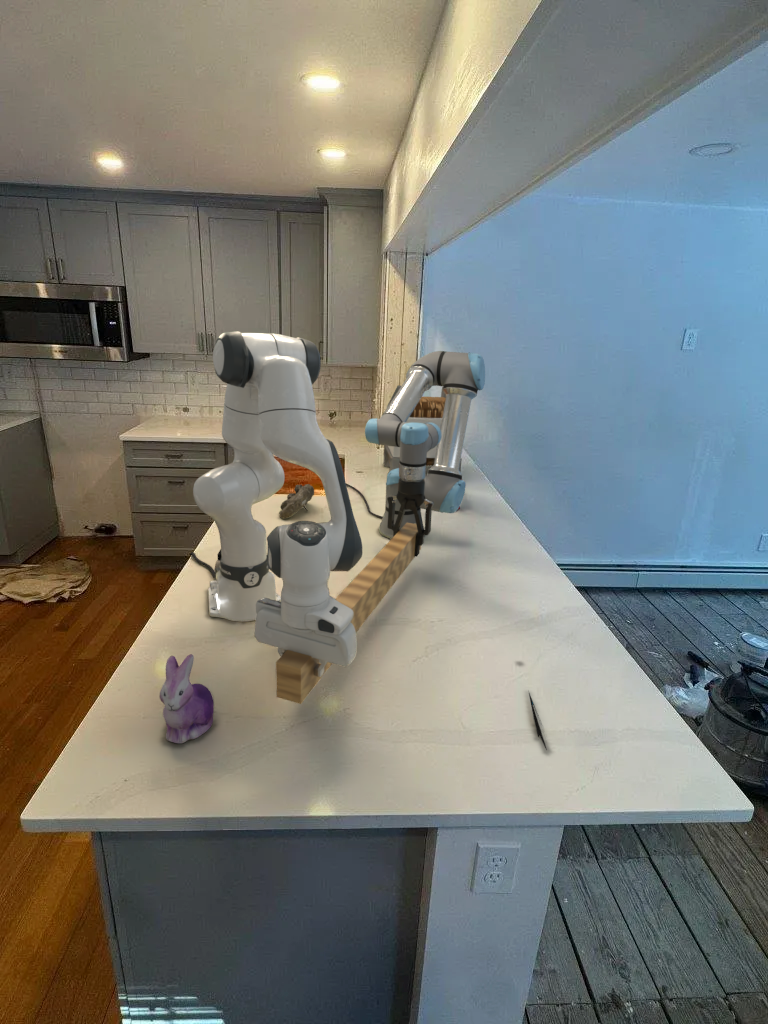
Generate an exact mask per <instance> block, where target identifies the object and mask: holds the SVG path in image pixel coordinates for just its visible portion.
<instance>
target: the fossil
mask: <svg viewBox="0 0 768 1024" xmlns="http://www.w3.org/2000/svg"><path fill="white" fill-rule="evenodd" d="M293 490H294V492H292V493H288V494H287V496H286V499H285V500H284V501H283V502H281V504H280V511H279V512H278V514H279V518H280V519H289V518H291V517H293V516H295V515H296V514H297V513H298V512H299V511H300V510H302V509H303V508H304V510H305V511H306V512H308V511H309V510H308V509H307V507H306V505H307V503H308V502H310V501H311V500H312V498H313V496H315V488H314V487H313V485H311V484H309V483H307V484H304V485H303V484H296V485H295V487H294V489H293Z"/></svg>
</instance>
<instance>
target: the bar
mask: <svg viewBox="0 0 768 1024" xmlns="http://www.w3.org/2000/svg"><path fill="white" fill-rule="evenodd" d="M417 534H418V530H417V525H416V524H413V523H406V524H405V525H404V526H403V527H402V528H401V529H400V530H399V531H398V533H397V534H396V535H395V536H394V537H393V538H392V539H389V541H388V542H387V543H386V544H385V545H384V546H383V547H382V548H381V549H380V550H379V552H377V554H376V555H375V556H374V557H373V558H372V559H371V560H370V561H369V562H368V563H367V564H366V566H365V567H364V568H363V569H362V570H360V572H359V573H358V574H357V575H356V576H355V577H354V578H353V579H352V580H351V582H349V583H348V585H347V586H345V588H344V589H343V590H341V592H340V593H339V594H338V595H337V597H335V598H334V599H335V600H337V601H338V602H340V603H342V604H343V605H345V606H347V607H349V608H350V609H352V610H353V613H354V615H353V619H352V620H351V623H352V624H353V626H354V628H355V631H356V633H358V631H359V630H360V629H361V627H362V626H363V625H364V623H365V622H366V621H367V619H369V617H370V616H371V614H372V613H373V612H374V611H375V609H376V608H377V607H378V606H379V604H380V603H381V601H382V600H383V599H384V598H385V596H386V595H387V594H388V593H389V591H390V590H391V589H392V587H393V586H394V585H395V584H396V582H397V581H398V579H399V578H401V576H402V574H403V573H404V572H405V570H406V569H407V568H408V567H409V565H410V564H411V563H412V562H413V560H414V559H415V557H416V556H415V541H416V535H417ZM421 550H422V546H420V551H421ZM317 664H322V663H319V659H315V658H312V657H311V656H309V655H305V654H301V653H297V652H294V651H290V650H287V651H286V652H285V653H284V654H283V655H282V656H280V657H279V658H278V659H277V660H276V662H275V670H276V671H275V672H276V673H275V675H276V676H275V678H276V679H275V680H276V681H275V682H276V684H275V685H276V698H278V699H283V700H284V701H289V702H292V703H295V704H298V705H302V703H303V702H304V701H305V700H306V698H307V697H308V696H309V695H310V693H311V692H312V691H313V689H314V688H315V687H316V685H317V684H318V683H319V681H321V679H322V678H323V676H324V675H325V674H326V672H328V670H329V669H330V667H331V666H332V665H333V663H329V662H327V664H326V665H325V666H324V674H323V675H322V676H321V677H318V676H315V675H314V667H315V666H316V665H317Z"/></svg>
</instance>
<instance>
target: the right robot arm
mask: <svg viewBox="0 0 768 1024" xmlns="http://www.w3.org/2000/svg"><path fill="white" fill-rule="evenodd" d="M485 382H486V363H485V360H484V358H483V356H482V355H481V354H479V353H473V352H461V351H460V352H459V351H458V352H457V351H445V350H436V351H432V352H429V353H427V354H424V355H423V356H421V357H420V358H418V359H417V360H416V361H414V363H412V364H411V366H410V367H409V368H408V370H407V371H406V374H405V379H404V381H403V382H402V384H401V385H400V386H401V387H400V389H399V390H398V392H397V393H396V395H395V397H394V398H393V400H392V401H391V403H390V404H389V406H388V407H387V406H386V408H385V410H384V412H383V413H382V415H381V416H380V417H379V418H378V417H376V418H369V419H368V421H367V422H366V423H365V428H364V437H365V440H366V441H367V442H368V443H370V444H375V445H378V446H384V445H386V446H394V447H400V463H399V468H397V469H393V470H391V471H390V470H389V471H388V473H387V475H386V482H385V504H384V505H385V507H384V508H385V509H384V513H383V515H382V516H381V515H380V514H379V515H378V514H376V513H373V512H372V511H371V510H370V506H369V504H368V502H367V499H366V497H365V495H364V494H363V493H362V492H361V491H360V490H358V489H357V488H356V487H354V486H352V485H350V484H349V483H346V486H347V487H349V488H350V489H353V490H354V491H355V492H356V493H358V494H359V495H360V496H361V497H362V499H363V501H364V503H365V506H366V508H367V512H368V513H369V514H370V515H372V516H374V517H376V518H379V519H381V522H379V527H378V533H379V534H380V535H381V536H382V537H385V538H387V539H389V540H391V539H392V538H393V537H394V536H395V535H396V534H397V533H398V531H399V530H400V529H401V528H402V527H403V526H404V525H405V524H406V523H413V524H416V525H417V530H418V534H417V535H416V541H415V557H419V555H420V551H421V550H420V546H421V547H423V544H424V540H425V536H428V535H429V534H430V533H431V531H432V513H433V512H438V513H441V514H443V513H445V514H454V513H456V512H457V511H458V510H459V509H458V508H459V506H460V507H461V505H462V502H463V499H464V496H465V492H466V486H467V484H466V481H465V480H463V479H462V478H463V474H462V473H460V471H459V465H460V459H461V458H462V453H463V448H464V442H465V437H466V431H467V426H468V422H469V421H468V420H469V415H470V410H471V405H472V401H473V400H474V399H475V398H476V397H477V395H478V392H479V391H483V390H484V387H485V384H486V383H485ZM432 387H443V392H444V393H445V395H446V400H445V405H444V411H443V416H442V422H441V427H440V428H439V427H438V426H437V425H436V424H434V423H424V424H423V423H414V422H413V423H406V422H407V420H408V418H409V417H410V415H411V414H412V412H413V410H414V409H415V407H416V405H417V404H418V402H419V400H420V399H421V397H424V394H425V392H427V391H430V390H431V388H432ZM436 446H437V449H436V455H435V460H434V465H433V466H432V465H431V466H430V468H428V469H427V466H426V458H427V452H428V451H429V450H431V449H433V448H435V447H436ZM426 472H427V474H426ZM461 479H462V480H461ZM422 510H425V512H424V513H425V514H424V521H423V515H422ZM432 511H433V512H432Z"/></svg>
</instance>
